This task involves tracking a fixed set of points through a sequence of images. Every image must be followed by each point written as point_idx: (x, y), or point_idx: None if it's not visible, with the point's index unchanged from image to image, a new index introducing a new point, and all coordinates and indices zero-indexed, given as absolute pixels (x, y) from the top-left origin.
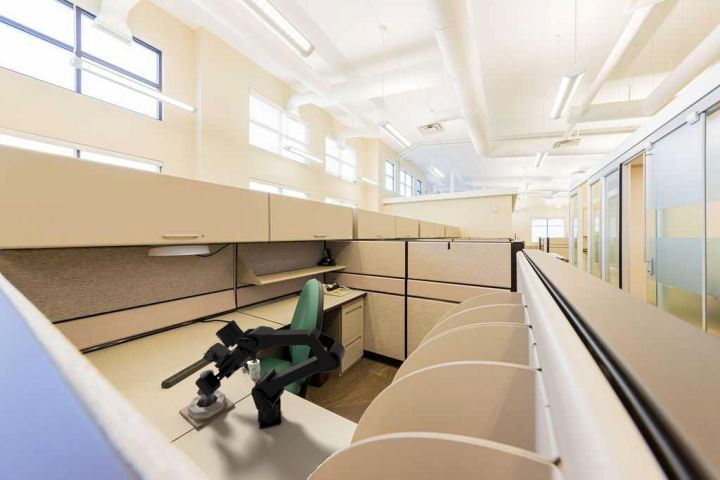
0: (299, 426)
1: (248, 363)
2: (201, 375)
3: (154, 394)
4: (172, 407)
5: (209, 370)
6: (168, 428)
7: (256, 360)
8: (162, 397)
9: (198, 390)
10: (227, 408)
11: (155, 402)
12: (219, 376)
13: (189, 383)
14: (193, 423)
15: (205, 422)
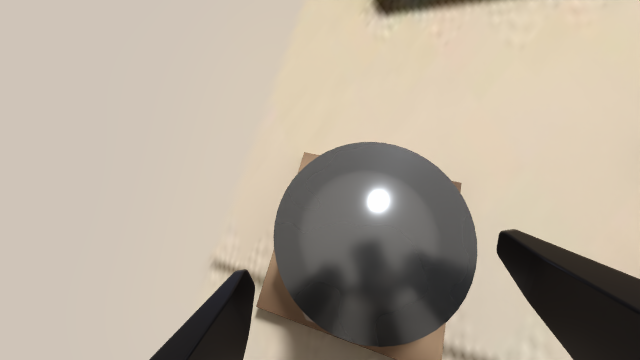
0: None
1: None
2: (297, 202)
3: (340, 11)
4: (317, 112)
5: (440, 202)
6: (241, 192)
7: None
8: (340, 42)
9: (197, 312)
10: (395, 357)
11: (315, 47)
12: (504, 255)
13: (436, 44)
14: (267, 271)
15: (287, 318)
